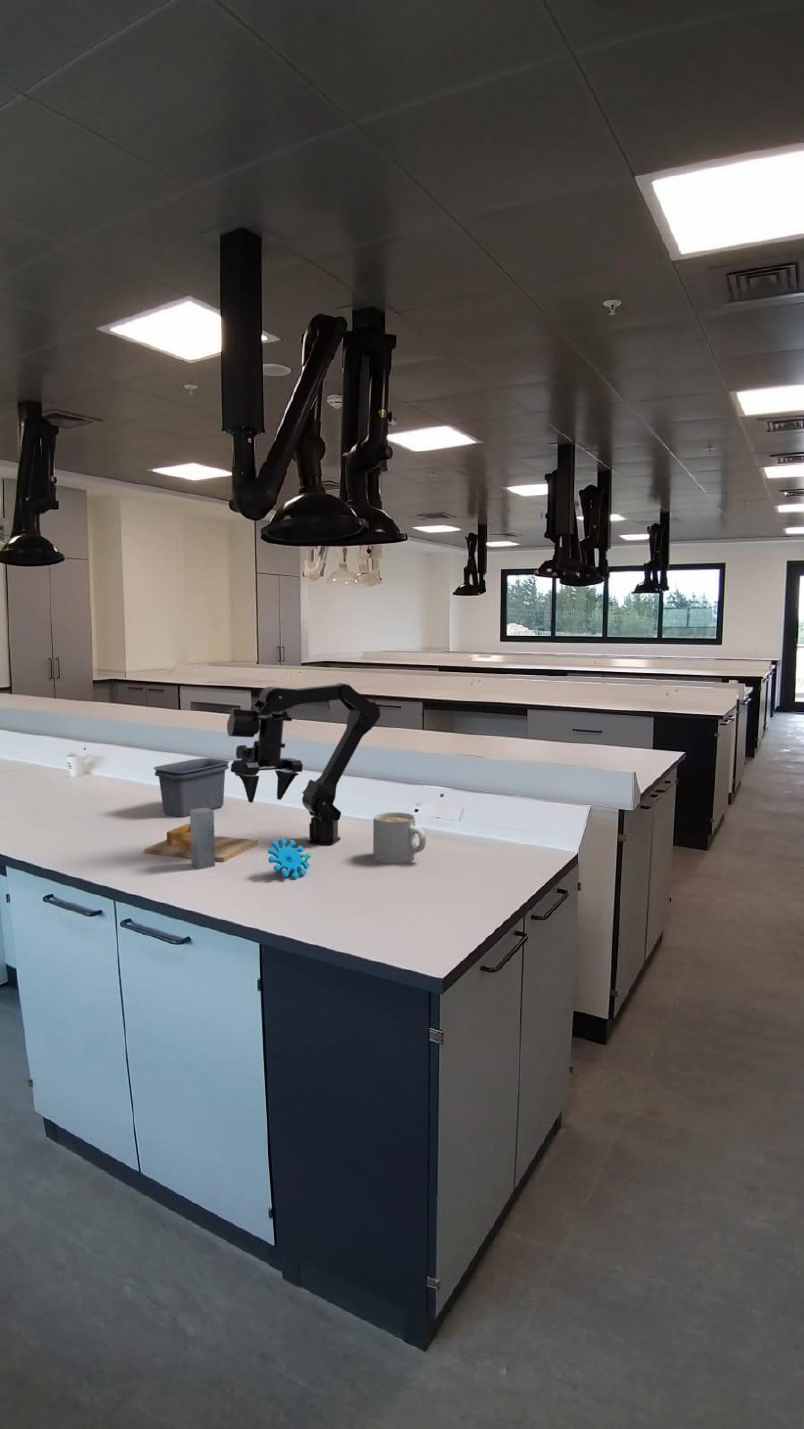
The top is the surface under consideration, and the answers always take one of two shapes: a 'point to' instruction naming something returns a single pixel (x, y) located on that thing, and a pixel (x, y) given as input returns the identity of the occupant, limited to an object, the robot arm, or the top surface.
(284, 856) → the gear
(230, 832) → the top surface
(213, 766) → the storage bin
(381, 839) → the coffee mug
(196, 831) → the link bar
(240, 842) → the plate
